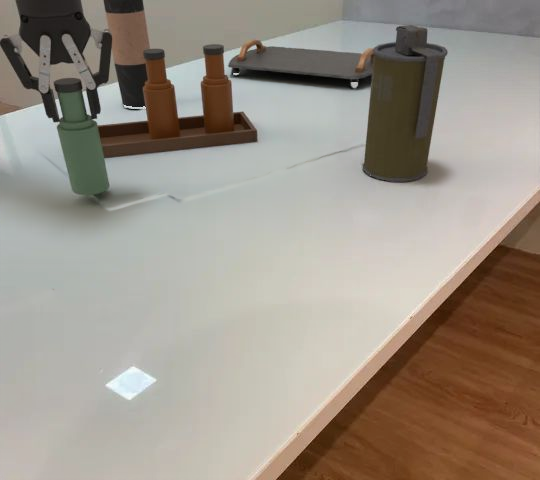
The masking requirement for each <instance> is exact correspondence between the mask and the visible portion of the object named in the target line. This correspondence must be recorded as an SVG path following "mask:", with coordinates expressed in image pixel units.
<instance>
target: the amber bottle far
mask: <svg viewBox="0 0 540 480" xmlns="http://www.w3.org/2000/svg"><path fill="white" fill-rule="evenodd" d="M202 53H203V55H204V65H205V75H203V77H202V80H201V81H200V92H201V94H200V95H201V103H202V115H203V116H204V127H205V134H211V133H221V132H231V131H234V117H233V112H234V102H233V86H232V85H233V84H232V80H231V79H229V75H227V74H225V59H224V53H225V46H224V45H223V44H219V43H212V44H205V45H203V46H202Z"/></svg>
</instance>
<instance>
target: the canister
mask: <svg viewBox="0 0 540 480" xmlns="http://www.w3.org/2000/svg"><path fill="white" fill-rule="evenodd" d="M395 31H396V36H395V41H394V42H386V43H381V44H378V45H376V46H374V47H373V54H374V60H373V71H372V75H371V82H370V94H369V104H368V114H367V115H368V116H367V124H366V125H367V127H366V137H365V146H364V147H365V149H364V160H363V164H362V166H363V169H362V171H363V170H364V171H365V172H366V173H367V174H369V175H371V176H373V177H376V178H378V179H377V180H379V179H382V180H381V181H383V182H388V183H389V182H390V181H391V183H408V182H413V181H417V180H420V179H422V178H424V177H425V176H427V174H428V172H429V168H428V161H429V155H430V148H431V144H432V143H431V142H432V137H433V130H434V124H435V120H436V113H437V108H438V101H439V94H440V89H441V82H442V78H443V77H442V76H443V71H444V64H445V60H446V59H445V58H446V57H447V55H448V53H449V50H448V49H447V48H446V47H445V46H442V45H439V44H435V43H432V42H431V43H430V42H428V28H427V27H423V26H417V25H413V24H408V25H399V26H396V27H395ZM364 171H363V172H364ZM365 172H364V173H365ZM366 173H365V174H366ZM367 174H366V175H367ZM369 175H368V176H369ZM371 176H369V177H371ZM423 176H424V177H423ZM373 177H371V178H373ZM376 178H375V179H376ZM384 180H386V181H384Z"/></svg>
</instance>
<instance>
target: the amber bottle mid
mask: <svg viewBox="0 0 540 480" xmlns="http://www.w3.org/2000/svg"><path fill="white" fill-rule="evenodd" d="M165 52H166V51H165V50H164V49H163V48H150V49H147V50H144V51H143V56H144V59H145V63H146V70H147V77H148V81H146V82H145V86H144V87H143V94H144V100H145V107H146V109H145V111H146V113H145V114H146V117H147V118H146V119H147V120H146V121H148V126H149V133H150V139H151V140H152V139H162V138H172V137H180V129H179V121H178V118H179V114H178V105H177V97H176V88H175V85H174V84H173V83H172V81H171V79H168V75H167V68H166V60H165V57H166V53H165Z"/></svg>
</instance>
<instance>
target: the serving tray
mask: <svg viewBox="0 0 540 480" xmlns="http://www.w3.org/2000/svg"><path fill="white" fill-rule="evenodd" d="M254 46H256V48H253V49H251V48H252V47H254ZM373 49H374V47H372V48H371V47H370V48H367V49H366V50H364V52H362V53H359V52H350V51H349V52H348V51H335V50H324V49H323V50H322V49H311V48H301V47H300V48H298V47H284V46H274V45H273V46H272V45H271V46H266V45H263V42H261V40H260V39H257V38H255V39H250V40H248V41H246V42H245V43H244V44H243V45H242V46H241V49H240V52H239V54H236V55H235V56H233V57H232V58H231V59H230V60H229V62H228V64H227V67H228V68H231V70H230V72H231V74H232V73H239V72H240V73H241V70H242V69H243V70H254V71H263V72H274V73H285V74H294V75H302V76H312V77H313V76H314V77H315V76H316V77H325V78H336V79H343V80H350V81H351V82H358V81H359V82H360V80H359V79H364V78H367V77H370V76H372V71H373V60H374V54H373ZM234 77H237V76H234Z"/></svg>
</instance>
